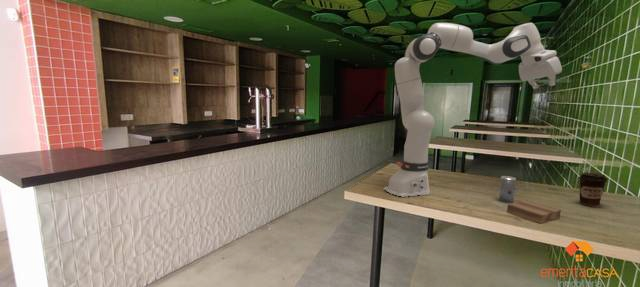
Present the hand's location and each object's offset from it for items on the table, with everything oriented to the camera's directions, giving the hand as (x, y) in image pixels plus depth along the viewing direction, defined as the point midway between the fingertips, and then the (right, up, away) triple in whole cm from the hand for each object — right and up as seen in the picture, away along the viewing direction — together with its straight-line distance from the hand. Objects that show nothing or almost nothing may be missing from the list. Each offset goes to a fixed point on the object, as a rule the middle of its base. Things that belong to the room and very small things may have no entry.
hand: (544, 87), depth 131 cm
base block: (-20, -53, -21) cm, 60 cm away
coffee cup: (+10, -51, -11) cm, 54 cm away
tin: (-21, -51, -6) cm, 55 cm away
